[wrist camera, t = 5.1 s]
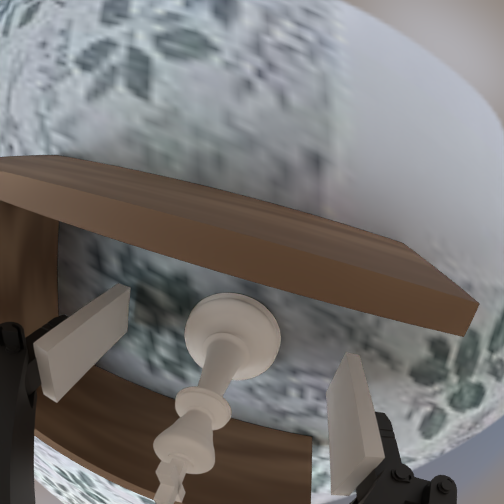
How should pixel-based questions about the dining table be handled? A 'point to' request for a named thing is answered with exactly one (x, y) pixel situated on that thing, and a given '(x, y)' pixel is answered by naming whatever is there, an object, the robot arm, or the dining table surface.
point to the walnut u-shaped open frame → (212, 257)
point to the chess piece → (213, 383)
